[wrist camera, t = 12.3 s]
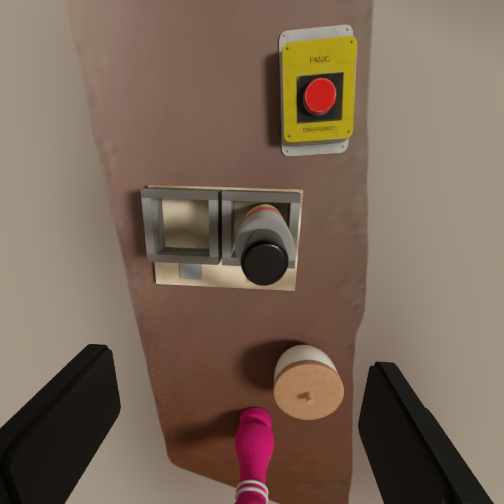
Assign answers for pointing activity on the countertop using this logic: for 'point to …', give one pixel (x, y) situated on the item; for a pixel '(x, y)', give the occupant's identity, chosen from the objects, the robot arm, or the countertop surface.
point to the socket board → (210, 232)
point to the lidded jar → (307, 383)
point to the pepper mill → (253, 455)
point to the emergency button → (317, 89)
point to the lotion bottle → (264, 245)
